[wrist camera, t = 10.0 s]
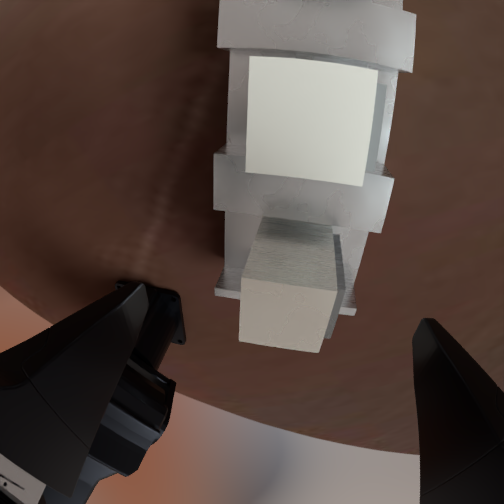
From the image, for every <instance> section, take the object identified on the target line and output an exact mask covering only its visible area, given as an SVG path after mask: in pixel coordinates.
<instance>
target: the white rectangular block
mask: <svg viewBox="0 0 504 504" xmlns="http://www.w3.org/2000/svg"><path fill="white" fill-rule="evenodd" d="M377 77H378V70H373V69H368V68H362V67H357V66H351V65H345V64H338V63H331V62H324V61H315V60H306V59H295V58H282V57H263V56H250V59H249V84H248V110H247V139H246V169H245V172H247V173H258V174H268V175H278V176H287V177H296V178H304V179H312V180H319V181H327V182H334V183H341V184H348V185H354V186H360V187H362V186H363V180H364V174H365V170H366V171H372V172H375V167H376V161H377V155H378V149H379V143H380V136H381V129H382V122H383V114H384V107H385V98H386V89H387V85H385V84H380V83H377Z"/></svg>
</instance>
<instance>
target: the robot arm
mask: <svg viewBox="0 0 504 504" xmlns="http://www.w3.org/2000/svg"><path fill="white" fill-rule="evenodd" d="M115 289H116V290H115V291H113V292H111V293H110V294H108V295H106V296H104V297H102V298H101V299H99V300H97V301H95V302H93V303H92V304H90V305H88V306H86V307H84V308H83V309H81V310H79V311H77V312H76V313H74V314H72V315H70V316H69V317H67V318H65V319H63V320H62V321H60V322H58V323H56V324H55V325H53V326H51V327H50V328H48V329H46V330H44V331H42V332H41V333H39V334H37V335H35V336H33V337H32V338H30V339H28V340H26V341H24V342H22V343H20V344H18V345H16V346H14V347H12V348H10V349H8V350H6V351H4V352H2V353H0V504H86V502H87V500H88V498H89V497H90V495H91V493H92V492H93V490H94V488H95V486H96V485H97V483H98V482H99V481H100V480H102V479H104V478H107V477H109V476H112V475H114V474H116V473H119V474H121V475H123V476H125V477H126V476H129V475H131V474H132V473H134V472H135V471H136V470H138V468H139V466H140V464H141V462H142V460H143V458H144V456H145V454H146V451H147V450H148V448H149V447H150V445H152V444H154V443H155V442H156V441H157V440H158V439H159V438H160V437H161V436H162V434H163V432H164V431H165V429H166V427H167V425H168V422H169V419H170V413H171V408H172V403H173V397H174V392H175V387H176V382H175V381H173V380H172V379H168V378H167V377H165V376H164V375H162V374H161V373H160V372H158V371H157V370H158V368H159V366H160V364H161V362H162V360H163V357H164V355H165V353H166V351H167V349H168V347H169V345H170V343H171V342H172V343H176V344H180V345H184V344H185V342H186V335H185V328H184V321H183V314H182V306H181V298H180V295H179V294H177V293H175V292H171V291H166V290H161V289H156V288H151V287H146V286H145V285H144V284H143V283H141V282H135V281H132V282H130V283H128V282H123V281H117V283H116V284H115ZM173 297H174V298H173ZM412 347H413V372H414V389H415V397H416V407H417V418H418V431H419V448H420V504H504V392H503V391H502V390H501V389H500V388H499V387H497V384H496V383H495V382H494V381H493V380H492V379H491V378H490V376H489V375H488V374H487V373H486V372H485V371H484V370H483V369H482V368H481V366H480V365H479V364H478V363H477V362H476V361H475V360H474V359H473V358H472V357H471V356H470V355H469V353H468V352H467V351H466V350H465V349H464V348H463V347H462V346H461V345H460V344H459V343H458V342H457V341H456V340H455V339H454V338H453V337H452V336H451V335H450V334H449V333H448V332H447V331H446V330H445V329H444V328H443V327H442V326H441V325H440V324H439V323H438V322H437V321H436V320H435V319H433V318H423V319H422V320H421V322H420V324H419V326H418V328H417V330H416V332H415V334H414V336H413V340H412Z"/></svg>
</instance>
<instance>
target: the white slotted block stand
mask: <svg viewBox="0 0 504 504" xmlns="http://www.w3.org/2000/svg"><path fill="white" fill-rule="evenodd" d="M402 5H403V0H220V4H219V20H218V38H217V48H220V49H223V50H227V51H230V66H229V88H228V114H227V143H226V144H225V145H224V146H223V147H221V148H220V149H219V150H218V151H217V152H215V153H214V186H213V205H214V210H220V211H225V266H224V268H223V270H222V273H221V275H220V277H219V280H218V282H217V284H216V286H215V295H217V296H223V297H228V298H234V299H240V323H239V341H242V342H248V343H254V344H260V345H266V346H272V347H279V348H285V349H292V350H300V351H307V352H315V353H319V350H320V347H321V344H322V341H323V338H329V339H330V338H331V335H332V332H333V329H334V326H335V323H336V320H337V317H338V314H344V315H353V316H354V315H355V312H356V309H357V308H356V299H355V291H354V281H355V278H356V275H357V271H358V268H359V265H360V261H361V258H362V254H363V250H364V247H365V243H366V239H367V236H368V232H369V231H370V232H376V233H381V230H382V227H383V223H384V219H385V215H386V212H387V208H388V204H389V200H390V195H391V191H392V187H393V183H394V177H393V176H392V175H391V173H390V172H389V171H388V169H387V168H386V167H385V165H384V161H385V156H386V151H387V145H388V140H389V134H390V128H391V122H392V115H393V108H394V101H395V94H396V85H397V77H398V73H412V68H413V58H414V45H415V30H416V14H413V13H410V12H407V11H403V10H402ZM250 56H263V57H282V58H295V59H306V60H315V61H324V62H331V63H338V64H345V65H351V66H357V67H362V68H368V69H373V70H378V77H377V83H380V84H385V85H387V89H386V98H385V107H384V114H383V122H382V129H381V136H380V143H379V149H378V155H377V161H376V167H375V172H372V171H366V170H365V174H364V180H363V186H362V187H360V186H354V185H348V184H341V183H334V182H327V181H319V180H312V179H304V178H296V177H287V176H278V175H268V174H258V173H247V172H245V169H246V139H247V110H248V84H249V59H250Z"/></svg>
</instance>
